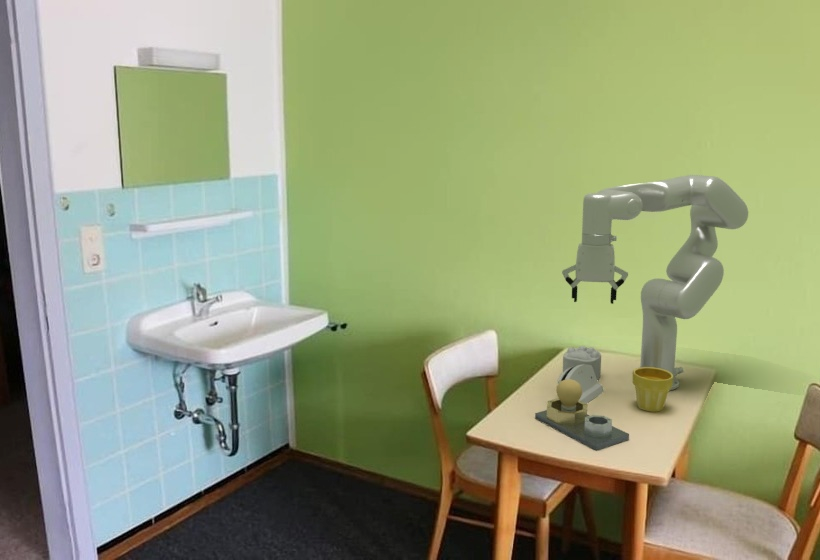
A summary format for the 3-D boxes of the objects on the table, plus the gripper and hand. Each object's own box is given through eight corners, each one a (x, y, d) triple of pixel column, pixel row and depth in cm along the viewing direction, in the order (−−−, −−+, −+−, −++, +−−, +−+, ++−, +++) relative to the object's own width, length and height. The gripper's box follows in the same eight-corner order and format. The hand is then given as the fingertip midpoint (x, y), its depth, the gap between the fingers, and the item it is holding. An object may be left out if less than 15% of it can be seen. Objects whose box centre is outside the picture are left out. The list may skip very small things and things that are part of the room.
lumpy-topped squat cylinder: (558, 379, 212) (559, 352, 210) (573, 366, 223) (574, 340, 221) (592, 385, 207) (593, 358, 205) (605, 372, 217) (607, 346, 215)
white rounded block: (578, 409, 190) (568, 374, 190) (563, 410, 193) (553, 376, 193) (604, 390, 202) (595, 357, 202) (590, 392, 205) (580, 360, 205)
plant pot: (674, 404, 192) (677, 370, 190) (666, 417, 183) (668, 382, 181) (636, 397, 197) (638, 364, 195) (626, 409, 189) (628, 375, 187)
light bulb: (567, 423, 177) (568, 386, 175) (550, 414, 183) (551, 378, 181) (586, 418, 180) (587, 381, 178) (569, 409, 186) (570, 374, 184)
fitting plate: (566, 409, 190) (566, 393, 189) (628, 439, 171) (629, 422, 170) (535, 418, 184) (535, 402, 183) (596, 450, 166) (596, 433, 165)
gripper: (629, 238, 188) (626, 299, 192) (563, 236, 192) (561, 297, 196) (630, 242, 181) (627, 306, 185) (562, 241, 185) (560, 303, 189)
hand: (593, 301), depth 190 cm, fingers open, 9 cm apart
